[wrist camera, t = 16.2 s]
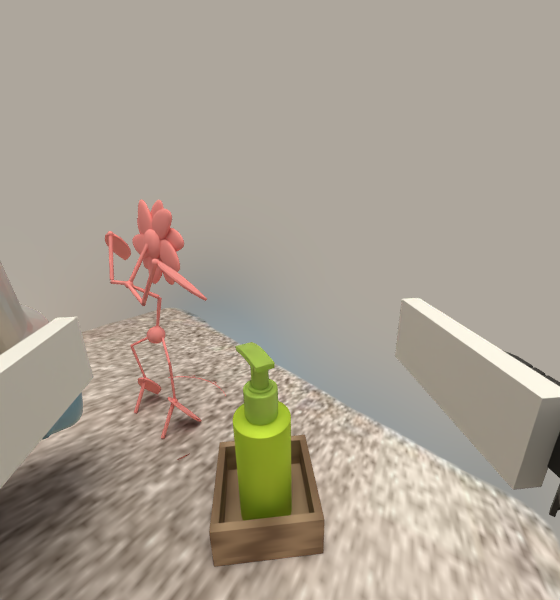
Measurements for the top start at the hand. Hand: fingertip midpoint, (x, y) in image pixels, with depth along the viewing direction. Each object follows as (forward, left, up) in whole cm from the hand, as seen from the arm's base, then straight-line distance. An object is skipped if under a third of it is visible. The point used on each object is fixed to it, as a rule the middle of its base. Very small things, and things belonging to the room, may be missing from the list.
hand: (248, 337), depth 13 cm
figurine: (-31, +21, -30) cm, 48 cm away
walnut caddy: (-8, +12, -30) cm, 33 cm away
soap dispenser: (-8, +12, -29) cm, 33 cm away
